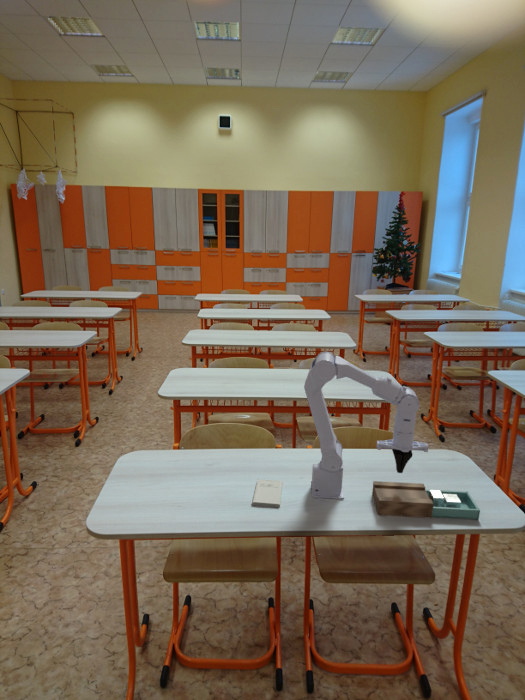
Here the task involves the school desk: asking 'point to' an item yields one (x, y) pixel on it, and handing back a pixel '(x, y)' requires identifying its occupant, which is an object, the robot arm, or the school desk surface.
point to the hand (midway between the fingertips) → (399, 471)
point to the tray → (464, 512)
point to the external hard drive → (268, 493)
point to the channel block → (402, 499)
